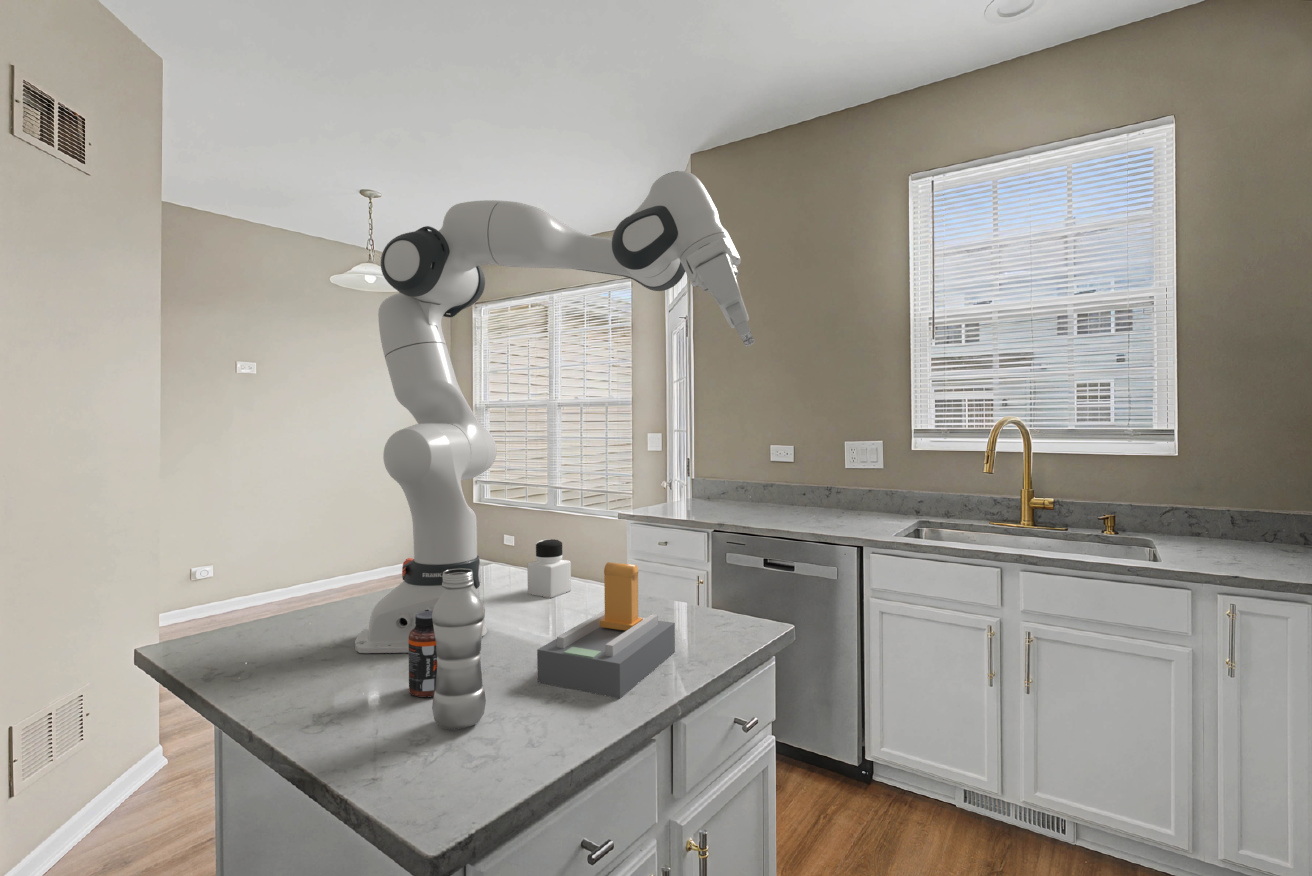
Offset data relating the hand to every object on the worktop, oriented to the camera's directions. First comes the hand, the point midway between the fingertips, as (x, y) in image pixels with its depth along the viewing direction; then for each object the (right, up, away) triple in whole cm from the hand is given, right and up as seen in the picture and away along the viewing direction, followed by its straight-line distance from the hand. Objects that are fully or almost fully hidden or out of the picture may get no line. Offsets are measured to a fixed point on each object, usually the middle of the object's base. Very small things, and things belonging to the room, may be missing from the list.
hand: (748, 339), depth 104 cm
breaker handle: (-20, -47, +3) cm, 51 cm away
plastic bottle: (-40, -53, -19) cm, 70 cm away
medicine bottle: (-39, -51, +44) cm, 78 cm away
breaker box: (-22, -52, 0) cm, 57 cm away
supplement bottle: (-48, -53, -9) cm, 72 cm away
